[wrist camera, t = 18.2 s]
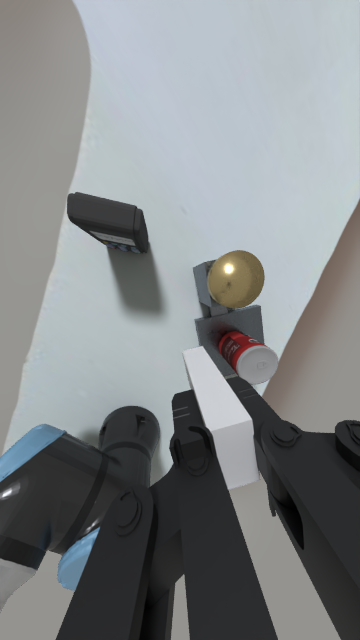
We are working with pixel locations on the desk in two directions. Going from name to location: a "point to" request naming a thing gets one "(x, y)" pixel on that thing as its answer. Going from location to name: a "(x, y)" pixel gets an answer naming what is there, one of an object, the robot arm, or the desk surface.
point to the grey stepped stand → (223, 321)
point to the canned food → (248, 357)
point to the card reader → (109, 221)
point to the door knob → (235, 279)
